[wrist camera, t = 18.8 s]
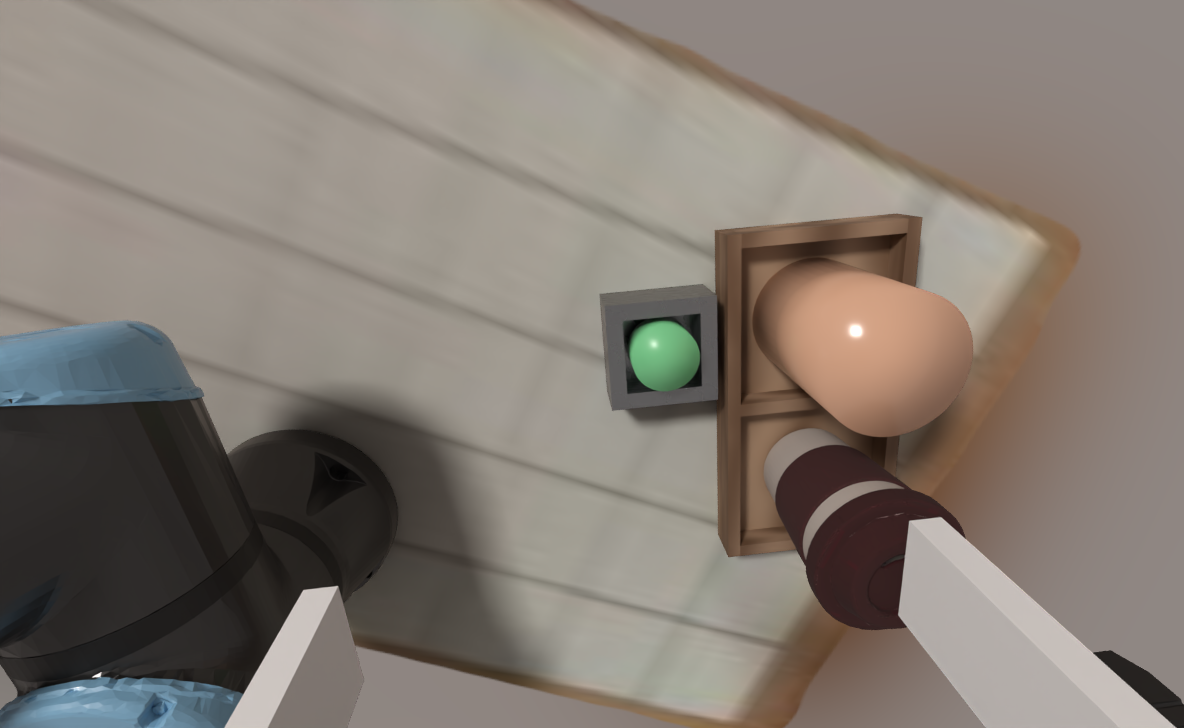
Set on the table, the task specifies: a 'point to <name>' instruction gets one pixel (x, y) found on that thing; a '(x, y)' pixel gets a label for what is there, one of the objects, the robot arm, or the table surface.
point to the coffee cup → (847, 524)
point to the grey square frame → (678, 303)
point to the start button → (663, 354)
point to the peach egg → (864, 344)
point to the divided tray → (757, 386)
